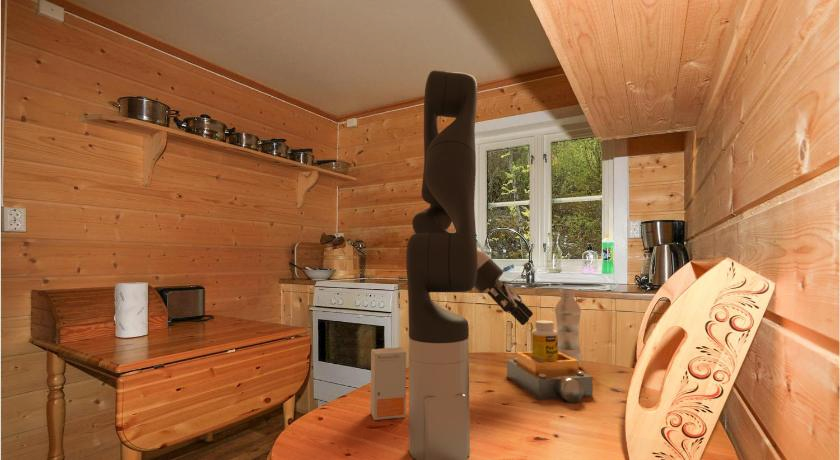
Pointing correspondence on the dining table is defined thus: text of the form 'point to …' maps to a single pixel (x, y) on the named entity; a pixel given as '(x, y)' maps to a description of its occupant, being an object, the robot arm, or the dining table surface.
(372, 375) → the skincare box
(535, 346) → the supplement bottle
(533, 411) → the dining table surface
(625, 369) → the dining table surface
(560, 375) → the gearbox housing
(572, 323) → the plastic bottle
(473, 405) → the dining table surface
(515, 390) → the dining table surface
